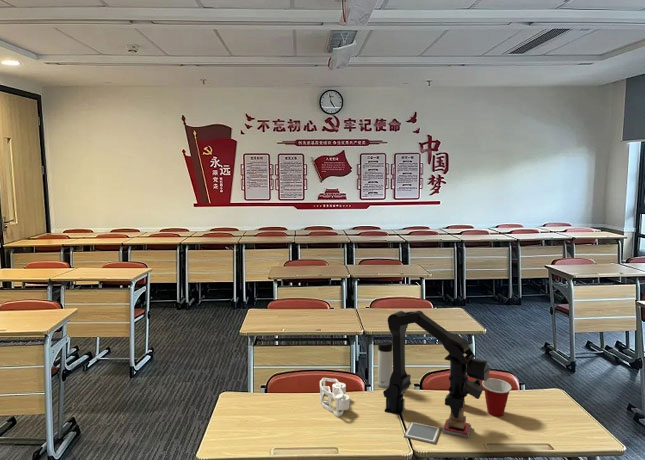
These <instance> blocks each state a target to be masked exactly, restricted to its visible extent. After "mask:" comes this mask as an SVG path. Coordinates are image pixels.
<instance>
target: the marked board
mask: <svg viewBox="0 0 645 460" xmlns="http://www.w3.org/2000/svg"><path fill="white" fill-rule="evenodd" d="M441 431H442V427H439V426H434V425H430V424H426V423H420V422H415V421H410V423H409V425H408V426H407V429H406V431H405V433H404V435H403V438H406V439H411V440H415V441H420V442H424V443H428V444H433V445H436V443H437V440H438V437H439V436H440V433H441Z"/></svg>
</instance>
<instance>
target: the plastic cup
mask: <svg viewBox="0 0 645 460" xmlns="http://www.w3.org/2000/svg"><path fill="white" fill-rule="evenodd" d="M481 385H482V387H483V392H484V398H485V402H486V404H485V405H486V409H487V413H488V415H489V416H492V417H497V418H499V417H502V416H504V414H505V409H506V407H507V402H508V398H509V395H510V391H511V390H512V389H513V388H512V386H511V384H510V383H509V382H507V381H505V380H502V379H498V378H492V377H490V378H488V379H487V381H483V380H482V382H481Z"/></svg>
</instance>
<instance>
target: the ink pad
mask: <svg viewBox="0 0 645 460" xmlns="http://www.w3.org/2000/svg"><path fill="white" fill-rule="evenodd" d="M448 419H449V418H447V419H446V420H445V422H444V424H443V427H442V429H441V431H442V434H446V435H449V436H451V435H452V436H456V437H460V438H464V439H469V437H470V434H471V430H472V424H471V423H468V422H466V423H465V426H464V429H459V428H454V427H450V426H448Z"/></svg>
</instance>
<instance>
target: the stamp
mask: <svg viewBox="0 0 645 460" xmlns="http://www.w3.org/2000/svg"><path fill="white" fill-rule="evenodd" d="M464 408H465V406H464V407H463V408H460V411H459V415H458V418H455V417H454V415H453V413H452V411H451V410H450V414H449V416H448V418H447V419H448V426H450V427H454V428H459V429H464V426H465V423H467V415H465V413H464Z"/></svg>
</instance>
